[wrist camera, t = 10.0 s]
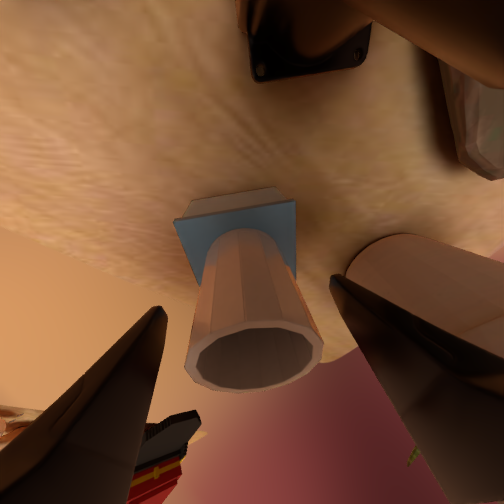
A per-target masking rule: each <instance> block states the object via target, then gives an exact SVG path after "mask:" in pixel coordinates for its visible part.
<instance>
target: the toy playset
mask: <svg viewBox="0 0 504 504" xmlns="http://www.w3.org/2000/svg"><path fill="white" fill-rule="evenodd" d="M200 425H201V420H200V416H199V415H198V413H197V411H196V410H192V411H188V412H183V413H179V414H175V415H171V416H169V417H167V418H166V419H164V420H163V421H161V422H160V423H158V424H157V425H155V426H154V427H152V428H151V429H149V430H148V431H145V433H144V434H143V437H142V441H141V445H140V449H139V453H138V457H137V461H136V465H135V470H134V474H133V478H132V482H131V487H130V491H129V495H128V499H127V503H126V504H162V503H163V501H164V500H165V499H166V498H167V496H168V495H169V494H170V492H171V491H172V490H173V489H174V487H175V486H176V485H177V480H178V479H179V478H180V476H181V475H182V471H181V466H180V463H181V462H182V460H183V459H184V458H185V457H186V452H187V448H188V447H187V445H188V441H189V440H190V438H191V437H192V436H193V435H194V433H195V432H196V431H197V429H198V428H199V427H200Z"/></svg>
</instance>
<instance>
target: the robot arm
mask: <svg viewBox="0 0 504 504" xmlns="http://www.w3.org/2000/svg"><path fill="white" fill-rule="evenodd" d="M235 5H236V13H237V22H238V28H239V29H240V30H241V31H242V33H246V32H247V40H248V49H249V59H250V69H251V76H252V79H253V80H254V82H256V83H257V84H263V83H269V82H275V81H281V80H287V79H293V78H300V77H306V76H312V75H318V74H324V73H330V72H336V71H342V70H349V69H354V68H356V67H358V66H360V65H361V64H362V63H363V62H364V61H365V59H366V57H367V53H368V47H369V40H370V33H371V27H372V21H373V20H375V21H376V22H378V23H380V24H381V25H383V26H385V27H386V28H388V29H390V30H391V31H393V32H395V33H397V34H398V35H400V36H402V37H403V38H405V39H407V40H408V41H410V42H412V43H413V44H415V45H417V46H418V47H420V48H422V49H424V50H425V51H427V52H429V53H430V54H432V55H434V56H435V57H437V58H439V59H440V60H442V61H444V62H446V63H447V64H449V65H451V66H452V67H454V68H456V69H457V70H459V71H461V72H462V73H464V74H466V75H467V76H469V77H471V78H473V79H474V80H476V81H478V82H479V83H481V84H483V85H484V86H486V87H488V88H493V89H502V90H504V0H235ZM356 50H357V51H358V52H359V58H358V60H355V58H354V54H355V51H356ZM258 66H262V67H263V69H264V75H263V76H258V74H257V72H256V68H257V67H258ZM329 289H330V292H331V294H332V296H333V299H334V301H335V303H336V305H337V308H338V310H339V312H340V314H341V316H342V318H343V320H344V322H345V324H346V325H347V327H348V329H349V330H350V332H351V334H352V336H353V337H354V339H355V341H356V342H357V344H358V346H359V348H360V349H361V351H362V353H363V354H364V356H365V358H366V360H367V361H368V363H369V365H370V366H371V368H372V370H373V371H374V373H375V375H376V377H377V379H378V380H379V382H380V384H381V385H382V387H383V389H384V391H385V392H386V394H387V396H388V397H389V399H390V401H391V403H392V404H393V406H394V408H395V409H396V411H397V413H398V415H399V416H401V417H400V418H401V420H402V422H403V423H404V425H405V427H406V429H407V430H408V432H409V434H410V436H411V437H412V439H413V441H414V442H415V444H416V446H417V448H418V449H419V451H420V453H421V454H422V456H423V458H424V459H425V461H426V463H427V465H428V466H429V468H430V470H431V472H432V473H433V475H434V477H435V478H436V480H437V482H438V484H439V485H440V487H441V489H442V491H443V492H444V494H445V496H446V497H447V499H448V500H449V502H450V504H477V503H486V502H494V501H497V502H498V503H499V504H504V358H502V357H500V356H498V355H496V354H494V353H491V352H489V351H487V350H485V349H483V348H481V347H479V346H477V345H474V344H472V343H470V342H468V341H466V340H464V339H462V338H460V337H458V336H455V335H453V334H451V333H449V332H447V331H445V330H443V329H441V328H439V327H437V326H435V325H433V324H431V323H429V322H428V321H426V320H424V319H422V318H420V317H418V316H416V315H413V314H412V313H411V312H409V311H407V310H405V309H403V308H401V307H400V306H398V305H396V304H394V303H392V302H390V301H389V300H387V299H385V298H383V297H381V296H379V295H377V294H376V293H374V292H372V291H370V290H368V289H366V288H365V287H363V286H361V285H359V284H357V283H355V282H353V281H352V280H350V279H348V278H346V277H344V276H342V275H341V274H334V275H331V277H330V283H329ZM167 322H168V316H167V314H166V312H165V311H164V309H163V308H162V306H154V307H152V308H150V309H149V311H147V312H146V313H145V314H144V315H143V316H142V317H141V318H140V319H139V320H138V321H137V322H136V323H135V324H134V325H133V326H132V327H131V328H130V329H129V330H128V331H127V332H126V333H125V334H124V335H123V336H122V337H121V338H120V339H119V340H118V341H117V342H116V343H115V344H114V345H113V346H112V347H111V348H110V349H109V350H108V351H107V352H106V353H105V354H104V355H103V356H102V357H101V358H100V359H99V360H98V361H97V362H96V363H94V364H93V365H92V366H91V368H90V369H89V370H87V371H86V372H85V374H84V375H82V376H81V377H80V378H79V379H78V380H77V381H76V382H75V383H74V384H73V385H72V386H71V387H70V388H69V389H68V390H67V391H66V392H65V393H64V394H63V395H62V396H61V397H59V398H58V400H56V401H55V402H54V403H53V404H52V405H51V406H50V407H49V408H48V409H46V410H45V411H44V412H43V413H42V414H41V415H40V416H39V417H37V418H36V419H35V420H34V421H33V422H32V423H31V424H30V425H29V426H27V427H26V428H25V429H24V430H23V431H22V432H21V433H20V434H18V435H17V436H16V437H15V438H14V439H13V440H12V441H11V442H10V443H8V444H7V445H6V446H5V447H4V448H3V449H2V450H1V451H0V504H126V503H127V499H128V495H129V491H130V487H131V482H132V478H133V474H134V470H135V465H136V461H137V457H138V453H139V449H140V445H141V441H142V437H143V433H144V428H145V424H146V420H147V416H148V412H149V408H150V404H151V399H152V396H153V392H154V387H155V383H156V379H157V375H158V371H159V367H160V362H161V359H162V354H163V350H164V344H165V337H166V330H167Z"/></svg>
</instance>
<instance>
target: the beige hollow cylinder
mask: <svg viewBox="0 0 504 504" xmlns="http://www.w3.org/2000/svg"><path fill="white" fill-rule="evenodd" d="M323 345H324V343H323V340H322V338H321V335H320V333H319V331H318V329H317V327H316V324H315V322H314V320H313V318H312V316H311V313H310V311H309V309H308V307H307V305H306V302H305V300H304V298H303V296H302V294H301V291H300V289H299V287H298V285H297V283H296V280H295V278H294V276H293V274H292V272H291V269H290V267H289V265H288V263H287V261H286V258H285V256H284V254H283V252H282V251H281V249H280V247H279V245H278V244H277V242H276V241H275V240H274V239H273V238H272V237H271V236H270V235H268V234H267V233H265V232H263V231H260V230H257V229H252V228H240V229H234V230H231V231H228V232H226V233H224V234H222V235H221V236H219V237H218V238H217V239H216V240H215V241H214V242H213V243H212V244H211V246H210V247H209V249H208V252H207V255H206V260H205V264H204V269H203V274H202V279H201V284H200V289H199V295H198V300H197V305H196V310H195V315H194V320H193V325H192V330H191V335H190V340H189V346H188V350H187V355H186V361H185V366H184V367H185V370H186V371H187V372H188V374H189V375H190V377H191V378H192V379H193V381H194V382H195V383H198V384H200V385H203V386H205V387H207V388H209V389H212V390H215V391H222V392H231V393H248V392H259V391H266V390H269V389H273V388H277V387H280V386H283V385H287V384H289V383H291V382H293V381H295V380H297V379H299V378H300V377H302V376H304V375H306V374H307V373H309V372H310V371H311V370H312V368H314V366H315V365H316V364H317V363H318V362H319V361H320V360H321V358H322V351H323Z"/></svg>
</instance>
